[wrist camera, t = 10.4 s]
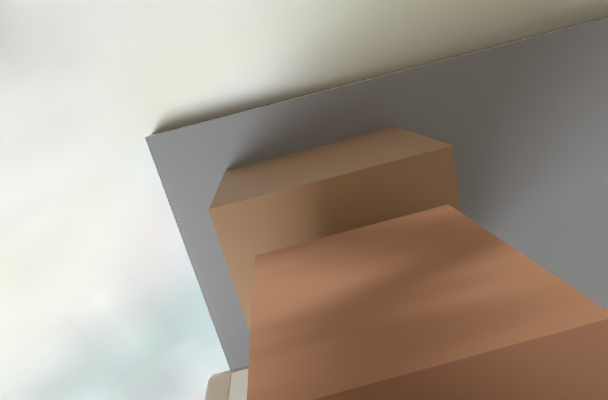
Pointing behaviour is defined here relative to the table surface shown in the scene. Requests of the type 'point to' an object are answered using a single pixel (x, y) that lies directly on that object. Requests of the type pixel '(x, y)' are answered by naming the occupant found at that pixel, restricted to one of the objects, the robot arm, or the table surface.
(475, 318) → the top block
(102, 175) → the table surface
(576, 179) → the building board
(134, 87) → the table surface
